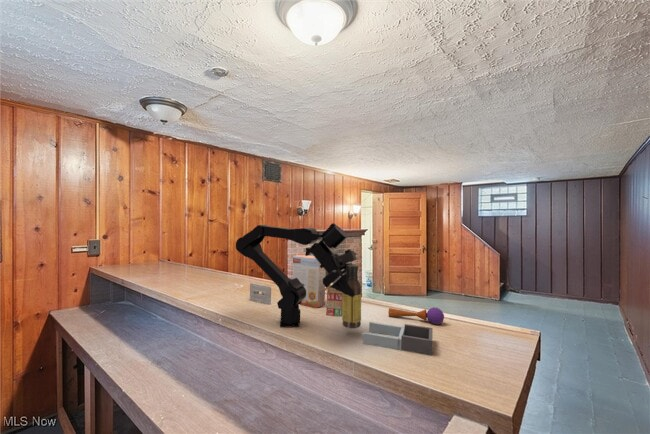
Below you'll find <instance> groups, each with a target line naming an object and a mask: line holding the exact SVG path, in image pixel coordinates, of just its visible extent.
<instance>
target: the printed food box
mask: <svg viewBox="0 0 650 434" xmlns="http://www.w3.org/2000/svg"><path fill="white" fill-rule="evenodd" d="M331 285H333V283H331V284H330V286H331ZM330 286H328V287H327V290H326V291H327V292H326V316H332V317H334V316H335V317H342V293H343V292H341V291H339V290H336V289H334V288H331V287H330Z"/></svg>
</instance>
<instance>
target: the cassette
mask: <svg viewBox="0 0 650 434" xmlns="http://www.w3.org/2000/svg"><path fill="white" fill-rule="evenodd" d="M249 301H250V302H251V301H252V302H254V303H259V304H263V305H267V306H268V305H270V306H271V305H272V286H269V285H265V284H259V283H254V282H250V283H249Z"/></svg>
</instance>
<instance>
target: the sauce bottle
mask: <svg viewBox="0 0 650 434" xmlns="http://www.w3.org/2000/svg"><path fill="white" fill-rule="evenodd" d="M352 264H353V263H352ZM352 264H350V265H346V281H347V283H348V284H349V286H350V288H351V289H352V291H353V292H354V294H355V296H354V297H351V296H349V295H347V294H345V293H342V316H341V317H342V319H341V320H342V326H343V327H344V328H346V329H351V330H352V329H359V328H360V327H361V325H362V323H361V321H362V286H361V283H360V281H359V280H358V278H359V276H358V275H359V274H358V272H359V266H358V264H353V265H352Z"/></svg>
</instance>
